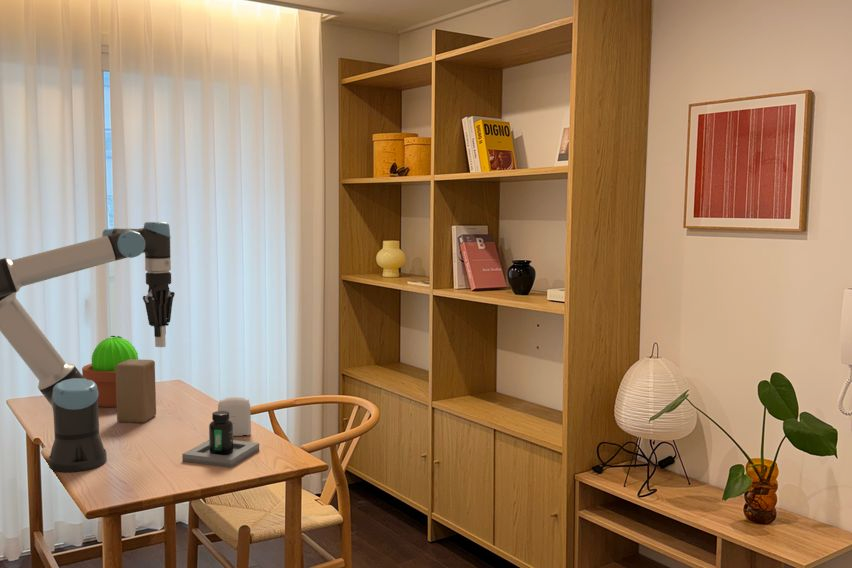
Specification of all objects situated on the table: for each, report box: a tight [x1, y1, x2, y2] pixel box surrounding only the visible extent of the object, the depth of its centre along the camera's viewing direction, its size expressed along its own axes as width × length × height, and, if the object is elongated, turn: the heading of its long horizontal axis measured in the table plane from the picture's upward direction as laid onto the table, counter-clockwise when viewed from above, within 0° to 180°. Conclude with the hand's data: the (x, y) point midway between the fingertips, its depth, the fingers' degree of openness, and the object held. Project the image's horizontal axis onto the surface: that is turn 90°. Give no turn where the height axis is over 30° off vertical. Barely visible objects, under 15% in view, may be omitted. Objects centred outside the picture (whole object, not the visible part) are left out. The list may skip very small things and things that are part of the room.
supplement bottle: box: [208, 410, 234, 455], centre depth 229 cm, size 7×7×12 cm
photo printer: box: [217, 396, 252, 437], centre depth 249 cm, size 10×4×12 cm, turn 96°
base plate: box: [181, 439, 260, 468], centre depth 230 cm, size 16×16×2 cm
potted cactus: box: [81, 335, 139, 408], centre depth 288 cm, size 22×22×25 cm
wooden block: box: [115, 358, 157, 424], centre depth 266 cm, size 10×10×20 cm
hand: (160, 346), depth 243 cm, fingers closed
